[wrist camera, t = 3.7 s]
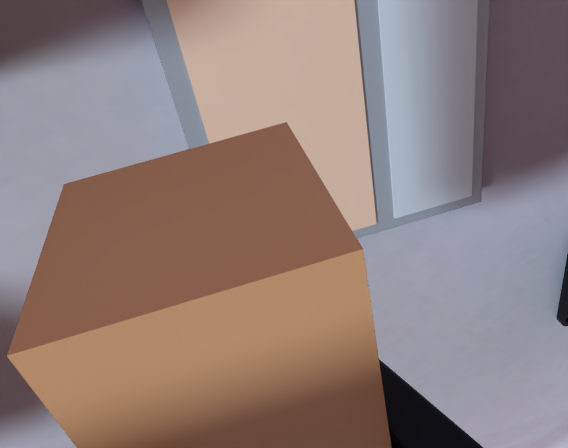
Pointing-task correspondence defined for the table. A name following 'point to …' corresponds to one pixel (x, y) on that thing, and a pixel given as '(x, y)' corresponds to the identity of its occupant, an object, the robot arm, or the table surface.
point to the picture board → (341, 92)
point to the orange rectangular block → (205, 306)
